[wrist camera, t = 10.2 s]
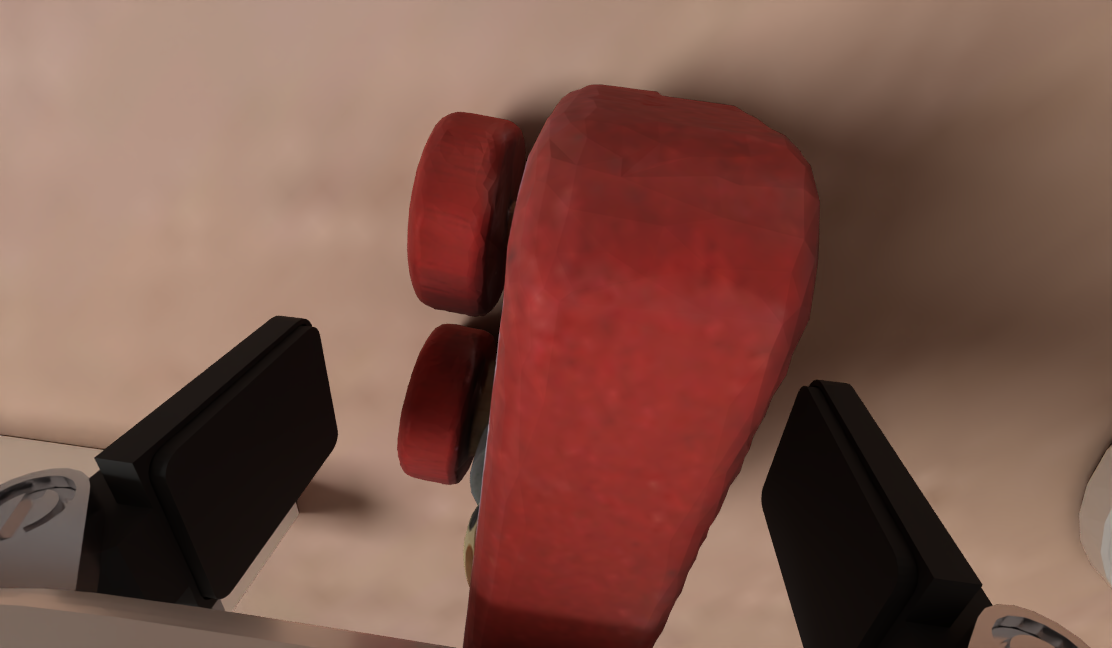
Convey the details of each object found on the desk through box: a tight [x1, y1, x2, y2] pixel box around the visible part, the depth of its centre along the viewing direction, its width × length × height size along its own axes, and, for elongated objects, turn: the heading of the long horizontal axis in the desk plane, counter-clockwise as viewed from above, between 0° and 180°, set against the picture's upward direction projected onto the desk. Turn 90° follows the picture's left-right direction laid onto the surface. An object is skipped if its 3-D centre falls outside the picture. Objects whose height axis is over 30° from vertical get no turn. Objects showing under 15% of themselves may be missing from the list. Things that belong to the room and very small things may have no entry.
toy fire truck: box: [397, 85, 820, 648], centre depth 9 cm, size 7×12×10 cm, turn 169°
